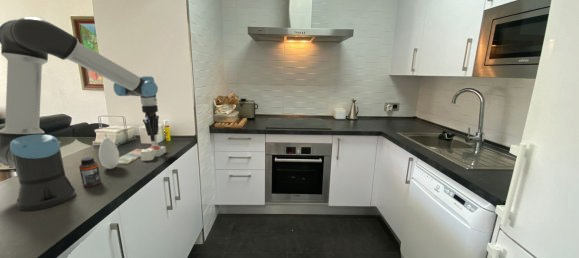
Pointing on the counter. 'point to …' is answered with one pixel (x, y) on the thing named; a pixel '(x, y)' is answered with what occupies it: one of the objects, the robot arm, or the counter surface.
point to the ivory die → (147, 154)
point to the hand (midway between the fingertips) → (154, 146)
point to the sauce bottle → (108, 153)
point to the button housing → (159, 151)
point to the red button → (155, 148)
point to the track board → (130, 157)
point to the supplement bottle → (89, 172)
